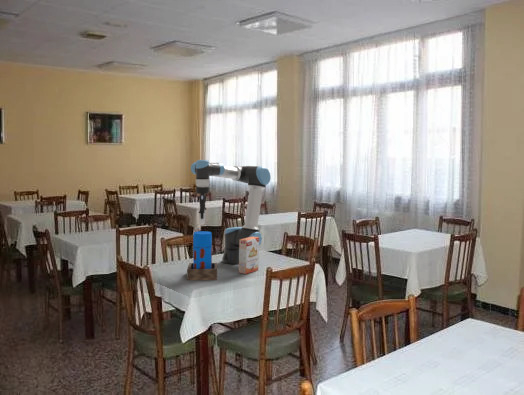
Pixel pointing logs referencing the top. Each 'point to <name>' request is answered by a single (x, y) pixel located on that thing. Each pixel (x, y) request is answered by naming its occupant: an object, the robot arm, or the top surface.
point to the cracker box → (248, 255)
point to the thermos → (202, 250)
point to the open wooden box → (202, 273)
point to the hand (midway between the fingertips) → (202, 222)
